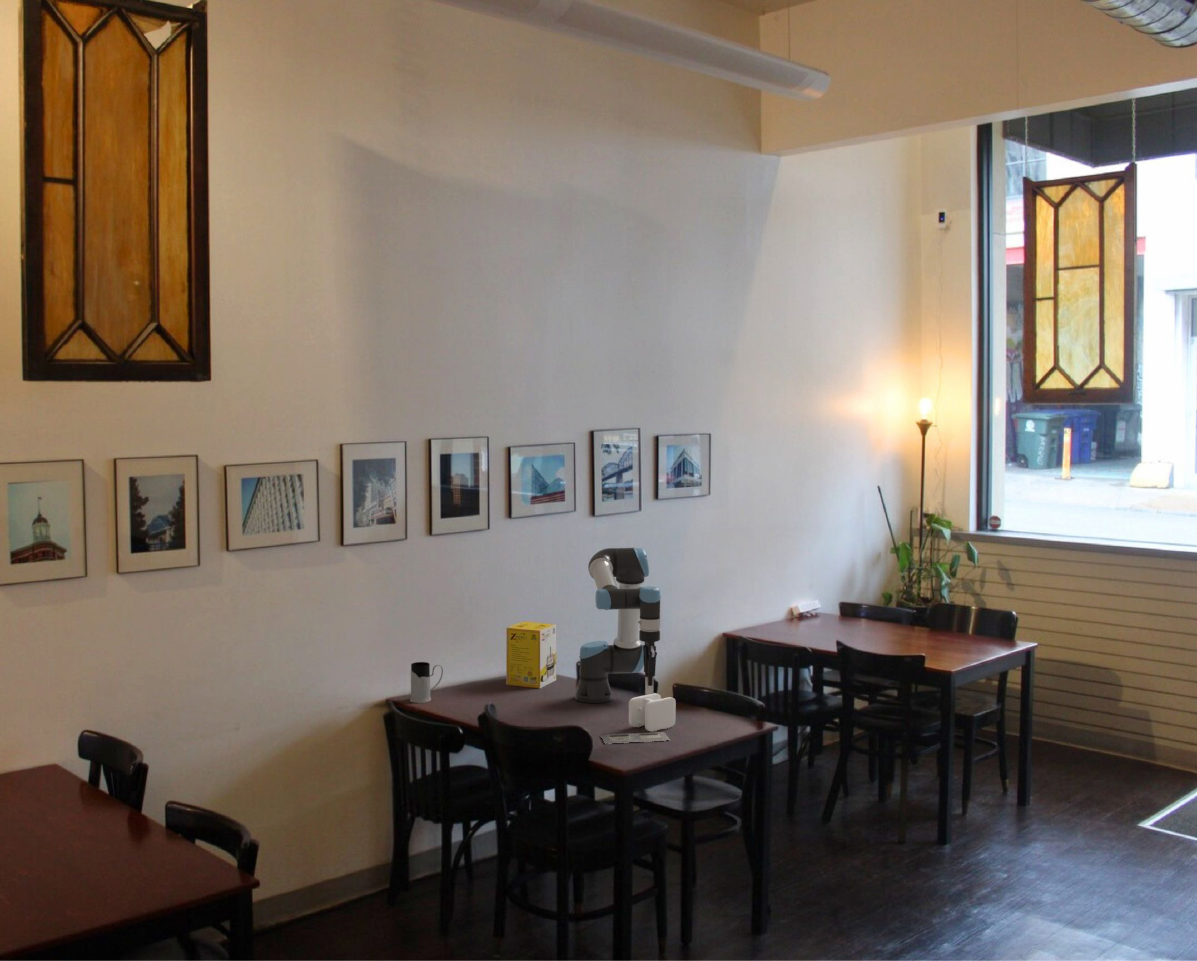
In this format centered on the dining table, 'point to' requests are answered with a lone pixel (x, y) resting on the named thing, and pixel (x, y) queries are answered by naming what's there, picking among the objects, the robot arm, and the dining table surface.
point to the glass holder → (421, 682)
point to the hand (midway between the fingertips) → (649, 693)
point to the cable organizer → (652, 712)
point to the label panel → (634, 737)
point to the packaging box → (531, 654)
